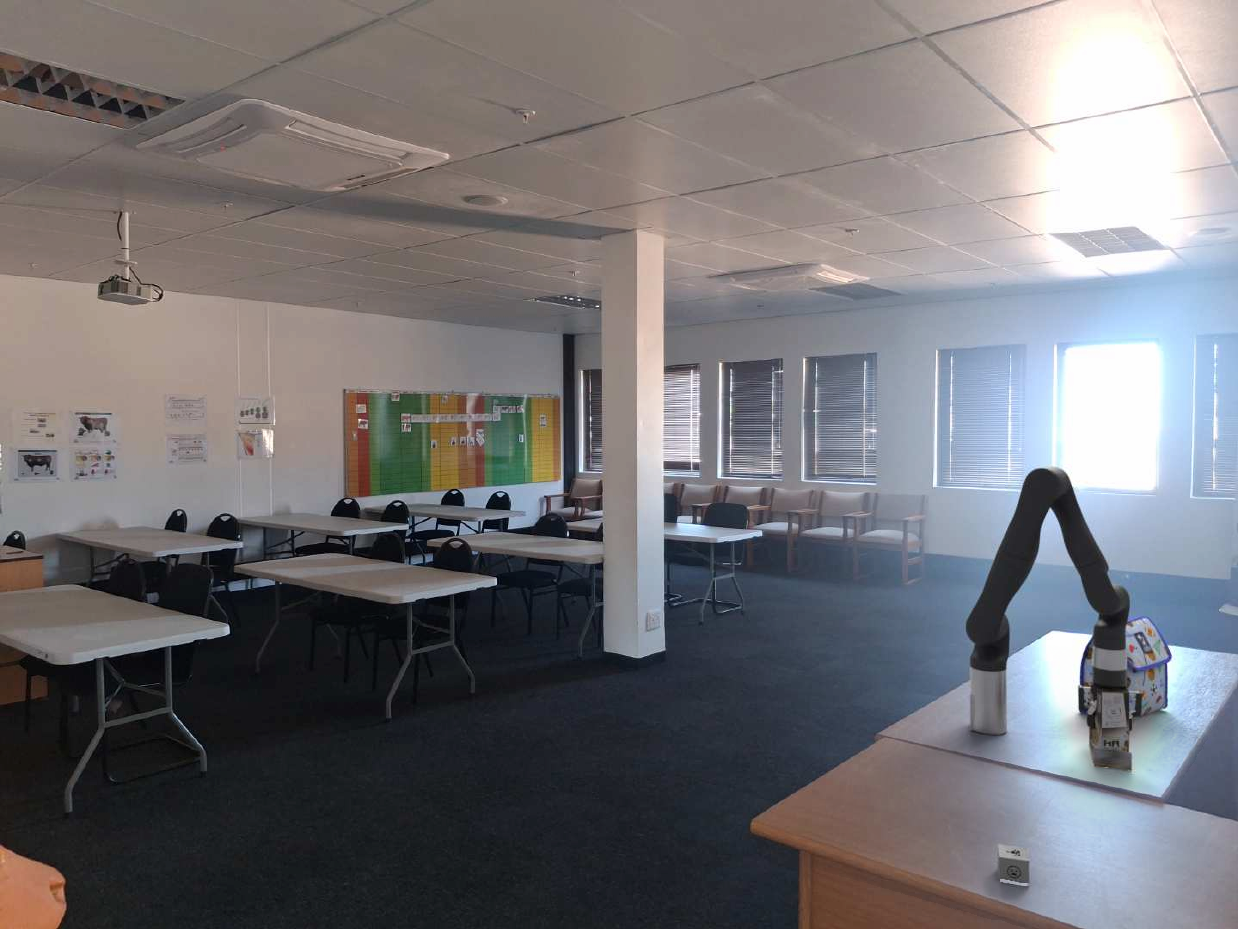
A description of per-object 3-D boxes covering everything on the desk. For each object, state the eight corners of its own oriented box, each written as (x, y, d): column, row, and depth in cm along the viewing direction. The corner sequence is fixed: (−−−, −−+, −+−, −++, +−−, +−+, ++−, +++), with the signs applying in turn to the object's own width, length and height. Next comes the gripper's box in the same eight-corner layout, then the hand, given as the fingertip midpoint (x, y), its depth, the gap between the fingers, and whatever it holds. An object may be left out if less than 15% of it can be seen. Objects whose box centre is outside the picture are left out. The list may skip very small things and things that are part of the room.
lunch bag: (1134, 730, 232) (1134, 632, 230) (1074, 713, 246) (1074, 620, 245) (1177, 713, 244) (1177, 619, 242) (1118, 698, 258) (1118, 609, 256)
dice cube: (1029, 888, 157) (1029, 861, 156) (999, 883, 158) (999, 857, 158) (1027, 874, 161) (1026, 848, 161) (997, 870, 163) (997, 844, 163)
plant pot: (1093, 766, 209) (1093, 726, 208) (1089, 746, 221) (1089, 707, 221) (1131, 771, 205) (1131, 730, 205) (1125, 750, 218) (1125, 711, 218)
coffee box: (1130, 758, 208) (1130, 692, 208) (1101, 756, 210) (1101, 691, 209) (1117, 744, 217) (1116, 681, 217) (1089, 743, 219) (1089, 680, 218)
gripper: (1077, 666, 212) (1077, 731, 213) (1145, 672, 206) (1144, 739, 207) (1075, 658, 219) (1075, 721, 220) (1141, 663, 213) (1140, 729, 214)
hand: (1109, 730), depth 213 cm, fingers closed on coffee box, 7 cm apart
